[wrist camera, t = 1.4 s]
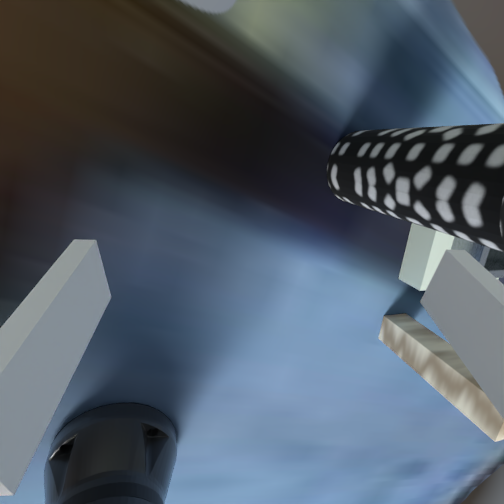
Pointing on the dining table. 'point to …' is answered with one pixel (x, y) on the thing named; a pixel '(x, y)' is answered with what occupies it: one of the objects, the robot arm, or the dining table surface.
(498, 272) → the cup bracket
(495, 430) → the rail post
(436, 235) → the mounting block
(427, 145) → the spotted tube
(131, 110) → the dining table surface
